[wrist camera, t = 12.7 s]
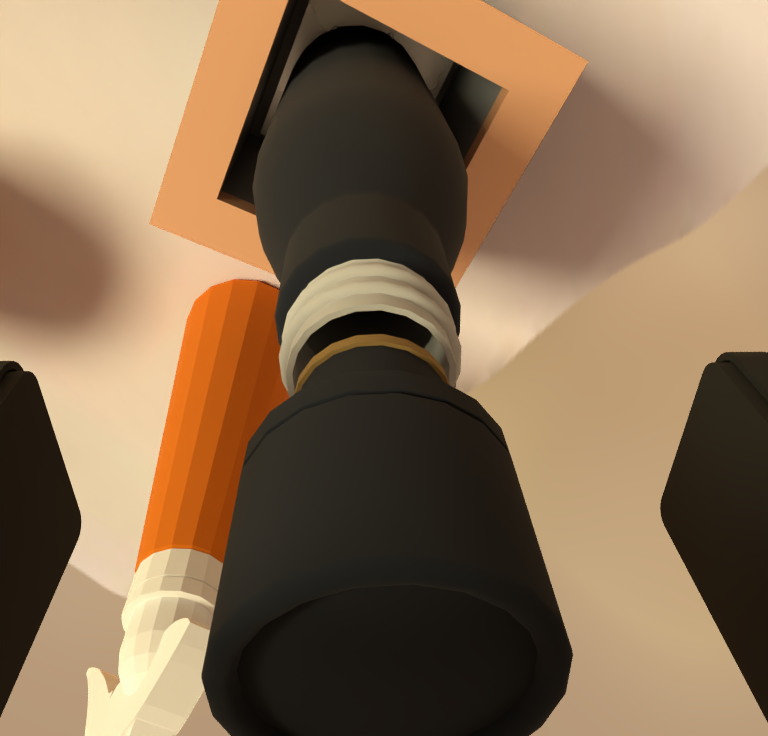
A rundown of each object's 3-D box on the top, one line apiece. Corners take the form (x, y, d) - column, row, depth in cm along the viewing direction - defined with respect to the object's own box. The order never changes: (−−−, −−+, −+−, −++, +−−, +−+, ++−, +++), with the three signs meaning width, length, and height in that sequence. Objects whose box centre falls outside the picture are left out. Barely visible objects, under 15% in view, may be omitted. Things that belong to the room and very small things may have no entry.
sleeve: (286, -107, 29) (258, -127, 20) (519, 25, 33) (588, 61, 23) (201, 147, 35) (149, 223, 26) (407, 239, 38) (427, 336, 29)
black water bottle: (318, -3, 30) (165, 340, 5) (446, 63, 32) (847, 577, 6) (268, 133, 33) (10, 791, 8) (387, 187, 35) (500, 869, 9)
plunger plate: (316, -18, 30) (315, -17, 30) (452, 55, 32) (455, 58, 31) (262, 128, 34) (259, 133, 33) (388, 186, 36) (389, 192, 35)
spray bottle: (136, 380, 42) (-94, 864, 20) (228, 253, 38) (65, 691, 16) (233, 433, 45) (123, 914, 23) (329, 320, 41) (309, 777, 19)
